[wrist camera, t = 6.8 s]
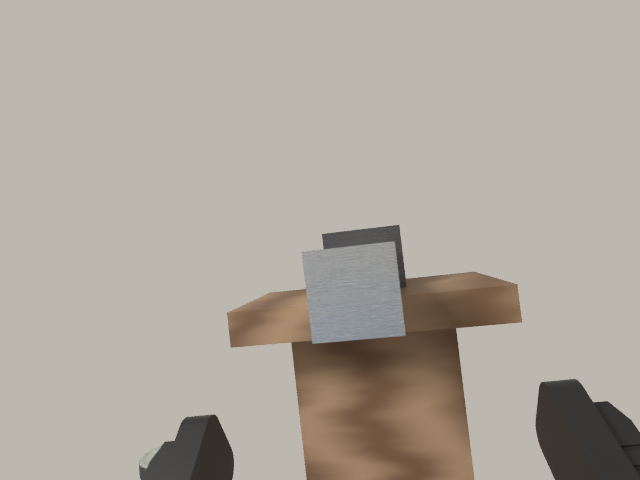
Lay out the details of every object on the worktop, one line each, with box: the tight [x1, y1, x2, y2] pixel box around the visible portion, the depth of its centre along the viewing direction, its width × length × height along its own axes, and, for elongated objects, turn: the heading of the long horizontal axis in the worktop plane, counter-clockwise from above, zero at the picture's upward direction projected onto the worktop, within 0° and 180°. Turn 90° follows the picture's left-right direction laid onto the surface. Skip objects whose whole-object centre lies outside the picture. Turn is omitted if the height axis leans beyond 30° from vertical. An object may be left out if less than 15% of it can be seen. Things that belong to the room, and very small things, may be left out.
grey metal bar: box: [302, 225, 406, 344], centre depth 24 cm, size 5×20×4 cm, turn 172°
